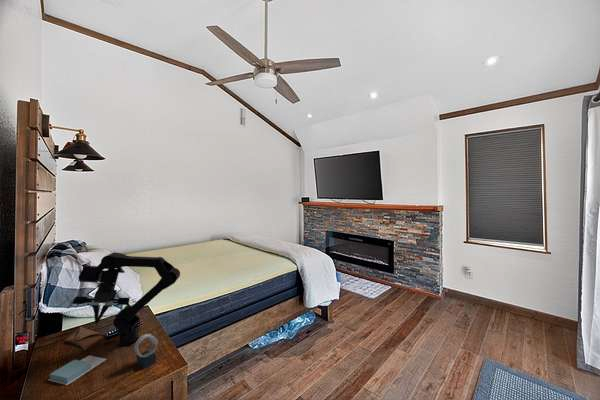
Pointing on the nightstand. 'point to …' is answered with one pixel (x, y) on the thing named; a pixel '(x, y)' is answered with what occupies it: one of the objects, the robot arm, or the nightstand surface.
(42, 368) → the nightstand surface
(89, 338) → the sunglasses case
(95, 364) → the felt mat
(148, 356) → the watch
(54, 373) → the teal tile
